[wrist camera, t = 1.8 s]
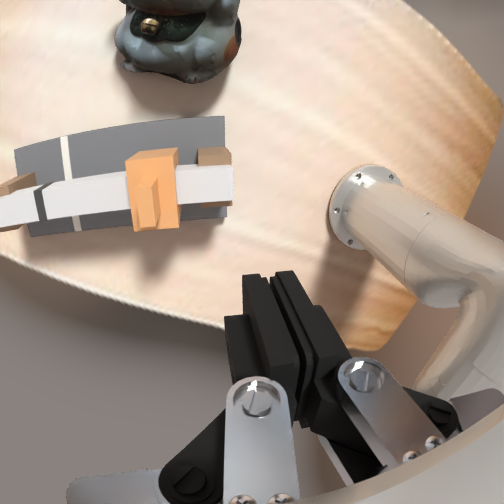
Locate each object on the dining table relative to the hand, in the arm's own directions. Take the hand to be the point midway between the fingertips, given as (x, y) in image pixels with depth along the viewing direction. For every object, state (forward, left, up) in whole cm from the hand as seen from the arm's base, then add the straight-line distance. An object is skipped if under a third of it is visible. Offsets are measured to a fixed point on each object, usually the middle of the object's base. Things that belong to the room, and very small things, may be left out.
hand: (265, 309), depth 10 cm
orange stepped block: (+6, 0, -22) cm, 23 cm away
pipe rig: (+13, 0, -27) cm, 30 cm away
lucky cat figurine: (+5, -18, -27) cm, 33 cm away
